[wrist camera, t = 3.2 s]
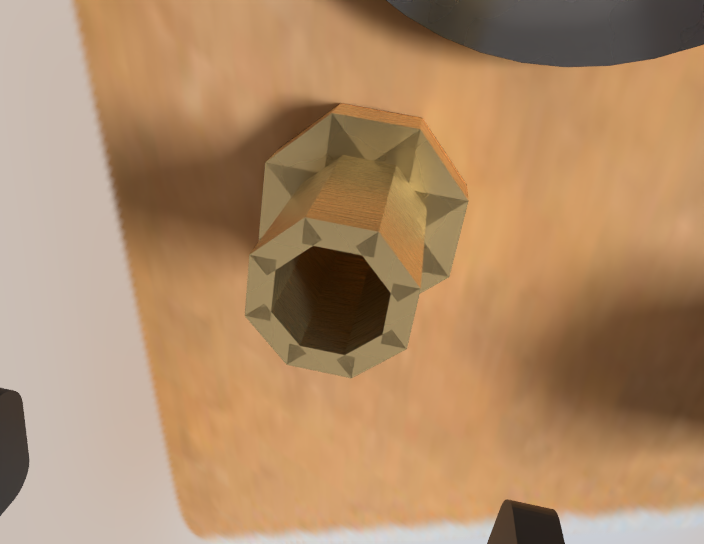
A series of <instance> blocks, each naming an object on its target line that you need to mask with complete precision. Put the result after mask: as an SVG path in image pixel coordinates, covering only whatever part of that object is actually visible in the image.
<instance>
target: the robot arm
mask: <svg viewBox="0 0 704 544" xmlns="http://www.w3.org/2000/svg"><path fill="white" fill-rule="evenodd" d="M28 467H29V453H28V444H27V436H26V428H25V419H24V411H23V402H22V398H21V396H20V395H19V393H18V392H16V391H13V390H8V389H4V388H0V516H1V514H2V513H3V512H4V511H5V510H6V509H7V507H8V506H9V505H10V504H11V503H12V501H13V500H14V499H15V497H16V496H17V495H18V493H19V492H20V490H21V488H22V486H23V483H24V481H25V479H26V476H27V472H28ZM487 544H565V542H564V538H563V534H562V529H561V525H560V521H559V517H558V515H557V513H556V511H555V510H553V509H549V508H544V507H540V506H535V505H530V504H526V503H521V502H517V501H512V500H505V501H504V502H503V504H502V506H501V508H500V511H499V513H498V516H497V519H496V521H495V524H494V527H493V529H492V532H491V535H490V537H489V540H488V543H487Z"/></svg>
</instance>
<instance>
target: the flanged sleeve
mask: <svg viewBox="0 0 704 544" xmlns="http://www.w3.org/2000/svg"><path fill="white" fill-rule="evenodd" d="M467 205H468V192H467V185H466V183H465V182H464V180H463V179H462V177H461V176H460V174H459V173H458V171H457V170H456V168H455V167H454V165H453V164H452V162H451V161H450V159H449V158H448V156H447V155H446V153H445V152H444V150H443V149H442V147H441V146H440V144H439V143H438V141H437V140H436V138H435V137H434V135H433V134H432V132H431V131H430V129H429V128H428V126H427V125H426V123H425V122H424V120H423V119H422V118H419V117H414V116H408V115H403V114H397V113H392V112H386V111H381V110H375V109H370V108H364V107H359V106H353V105H348V104H342V103H340V104H339V105H338V106H336V107H335V108H334V109H332V110H331V111H330V112H328V113H327V114H326V115H324V116H323V117H321V118H320V119H319V120H317V121H316V122H315V123H313V124H312V125H311V126H309V127H308V128H307V129H305V130H304V131H303V132H301V133H300V134H299V135H297V136H296V137H295V138H293V139H292V140H291V141H289V142H288V143H286V144H285V145H284V146H282V147H281V148H280V149H278V150H277V151H276V152H275V153H274V154H273V155H272V156H271V157H270V158H269V159H268V160H267V161H266V162H265V172H264V183H263V195H262V206H261V218H260V229H259V240H260V241H259V242H258V244H257V245H256V247H255V248H254V249H253V251H252V252H251V253H250V255H249V268H248V281H247V293H246V306H245V317H246V318H247V319H248V320H249V321H250V322H251V324H252V325H253V326H254V327H255V328H256V329H257V331H258V332H259V333H260V334H261V335H262V336H263V338H264V339H265V340H266V341H267V342H268V343H269V345H270V346H271V347H272V348H273V349H274V350H275V352H276V353H277V354H278V355H279V356H280V357H281V359H282V360H283V361H284V362H285V363H286V364H287V365H291V366H295V367H300V368H305V369H310V370H314V371H319V372H324V373H329V374H334V375H338V376H343V377H348V378H353V377H355V376H357V375H359V374H361V373H362V372H364V371H366V370H368V369H370V368H372V367H374V366H376V365H378V364H379V363H381V362H383V361H385V360H387V359H389V358H391V357H393V356H395V355H396V354H398V353H400V352H402V351H404V350H406V349H407V346H408V342H409V337H410V333H411V329H412V324H413V320H414V316H415V311H416V307H417V303H418V298H419V294H420V293H422V292H424V291H425V290H427V289H429V288H431V287H432V286H434V285H436V284H438V283H440V282H441V281H443V280H445V279H447V278H448V277H449V276H450V272H451V268H452V264H453V260H454V256H455V252H456V248H457V244H458V240H459V236H460V232H461V228H462V224H463V221H464V217H465V213H466V209H467Z"/></svg>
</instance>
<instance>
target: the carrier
mask: <svg viewBox="0 0 704 544" xmlns="http://www.w3.org/2000/svg"><path fill="white" fill-rule="evenodd" d="M387 1H388V2H389V3H390V4H392V5H393V6H394V7H395V8H397V9H398V10H399V11H401V12H402V13H403V14H404V15H406V16H407V17H409V18H411V19H412V20H414V21H416V22H418V23H419V24H421V25H423V26H425V27H426V28H428V29H430V30H431V31H433V32H435V33H437V34H438V35H440V36H442V37H444V38H446V39H449V40H451V41H454V42H456V43H459V44H461V45H464V46H466V47H469V48H471V49H474V50H476V51H479V52H481V53H485V54H489V55H493V56H497V57H501V58H505V59H509V60H513V61H517V62H521V63H530V64H540V65H549V66H559V67H584V66H610V65H617V64H623V63H629V62H636V61H642V60H648V59H655V58H658V57H662V56H665V55H669V54H672V53H676V52H679V51H683V50H686V49H690V48H693V47H697V46H700V45H703V44H704V0H387Z"/></svg>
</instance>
